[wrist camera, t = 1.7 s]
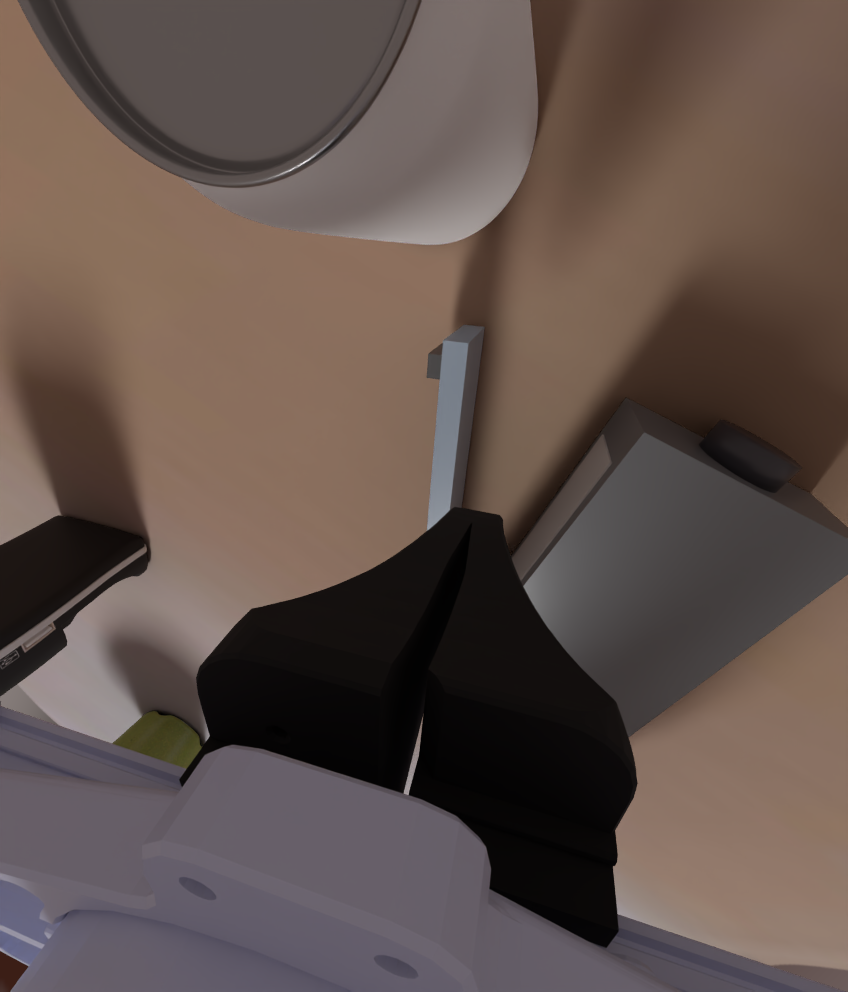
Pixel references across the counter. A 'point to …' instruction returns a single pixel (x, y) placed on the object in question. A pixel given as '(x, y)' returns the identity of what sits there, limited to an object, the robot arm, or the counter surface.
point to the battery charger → (56, 586)
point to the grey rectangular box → (674, 556)
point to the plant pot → (162, 739)
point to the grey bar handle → (453, 416)
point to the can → (315, 104)
